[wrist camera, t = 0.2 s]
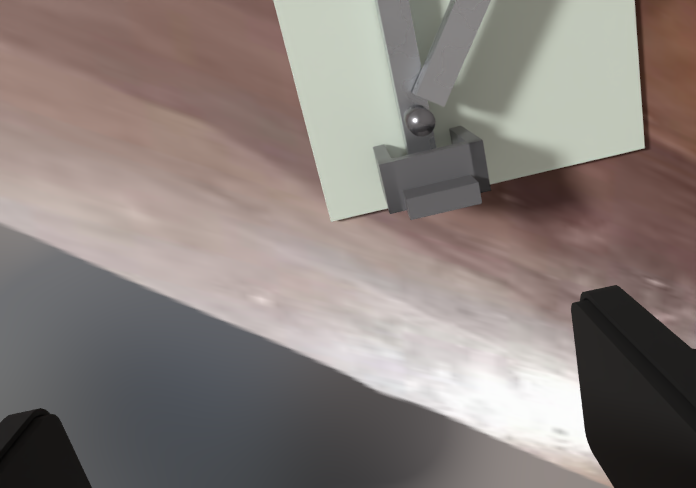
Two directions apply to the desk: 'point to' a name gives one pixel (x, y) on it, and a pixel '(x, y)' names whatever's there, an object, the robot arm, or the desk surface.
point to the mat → (467, 88)
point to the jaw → (449, 49)
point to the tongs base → (405, 74)
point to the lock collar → (435, 176)
